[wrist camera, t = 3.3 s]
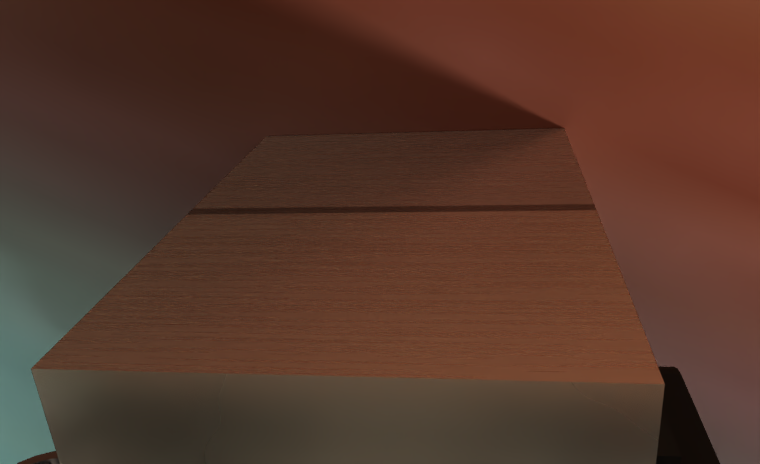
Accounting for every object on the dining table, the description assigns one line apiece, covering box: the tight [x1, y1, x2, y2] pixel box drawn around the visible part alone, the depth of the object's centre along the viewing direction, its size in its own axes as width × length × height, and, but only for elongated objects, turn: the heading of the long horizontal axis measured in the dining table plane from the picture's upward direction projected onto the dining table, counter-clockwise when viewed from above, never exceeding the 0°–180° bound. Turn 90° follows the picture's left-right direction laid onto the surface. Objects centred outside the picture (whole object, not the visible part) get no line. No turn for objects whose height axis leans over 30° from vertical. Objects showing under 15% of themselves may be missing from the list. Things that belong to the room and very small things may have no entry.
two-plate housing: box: [31, 128, 665, 464], centre depth 10 cm, size 5×7×7 cm
